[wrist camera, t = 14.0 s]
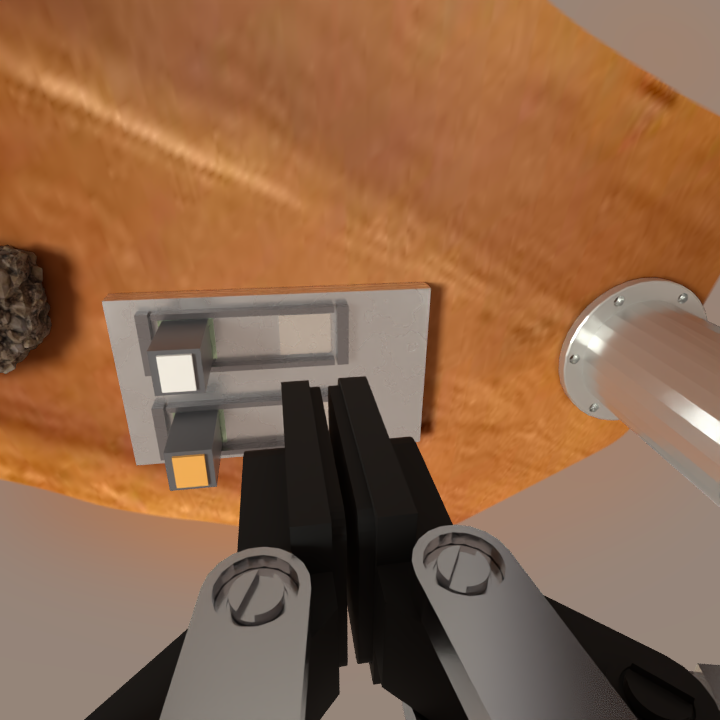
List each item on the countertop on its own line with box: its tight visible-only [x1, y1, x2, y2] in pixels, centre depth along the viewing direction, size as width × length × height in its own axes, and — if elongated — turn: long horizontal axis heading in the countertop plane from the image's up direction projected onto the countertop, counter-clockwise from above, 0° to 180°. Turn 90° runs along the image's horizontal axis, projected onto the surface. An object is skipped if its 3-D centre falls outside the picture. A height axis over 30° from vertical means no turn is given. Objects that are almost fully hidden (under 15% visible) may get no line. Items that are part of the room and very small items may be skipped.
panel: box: [102, 282, 431, 465], centre depth 39 cm, size 22×13×2 cm, turn 89°
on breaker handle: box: [147, 318, 213, 396], centre depth 34 cm, size 3×3×5 cm
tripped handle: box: [163, 410, 222, 491], centre depth 36 cm, size 3×3×5 cm
